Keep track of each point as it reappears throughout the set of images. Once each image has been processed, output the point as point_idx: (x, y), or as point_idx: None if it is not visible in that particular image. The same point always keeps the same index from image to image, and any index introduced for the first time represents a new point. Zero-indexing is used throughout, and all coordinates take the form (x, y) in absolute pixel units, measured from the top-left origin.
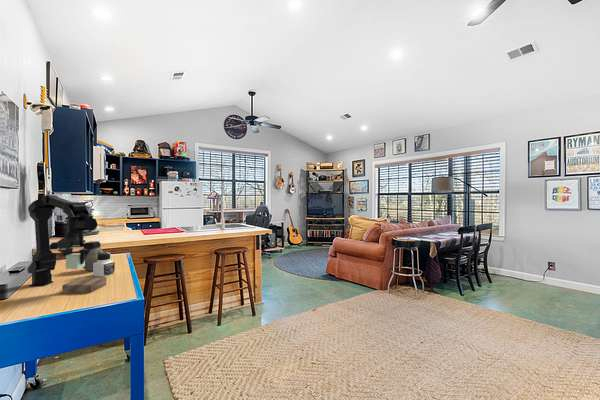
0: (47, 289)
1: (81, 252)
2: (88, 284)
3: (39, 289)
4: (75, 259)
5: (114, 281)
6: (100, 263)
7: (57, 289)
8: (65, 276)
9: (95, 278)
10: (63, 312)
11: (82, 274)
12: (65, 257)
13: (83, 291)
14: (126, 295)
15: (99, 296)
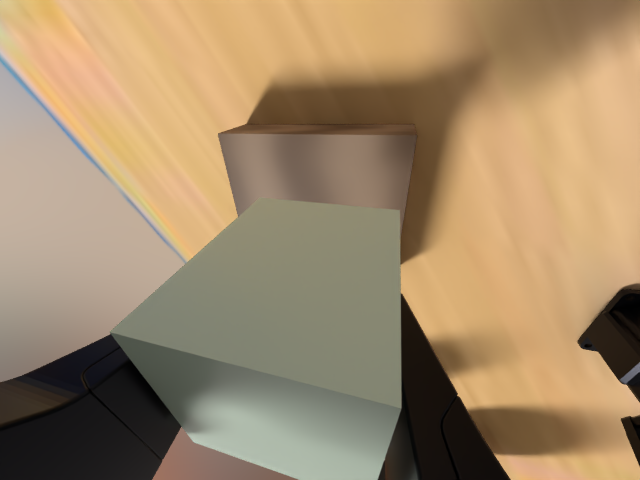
0: (563, 219)
1: (4, 405)
2: (240, 145)
3: (629, 226)
4: (213, 275)
5: None
6: None
7: (489, 211)
8: (540, 404)
9: None
10: None
11: (466, 405)
12: (449, 393)
13: (281, 125)
14: (50, 70)
15: (151, 49)
